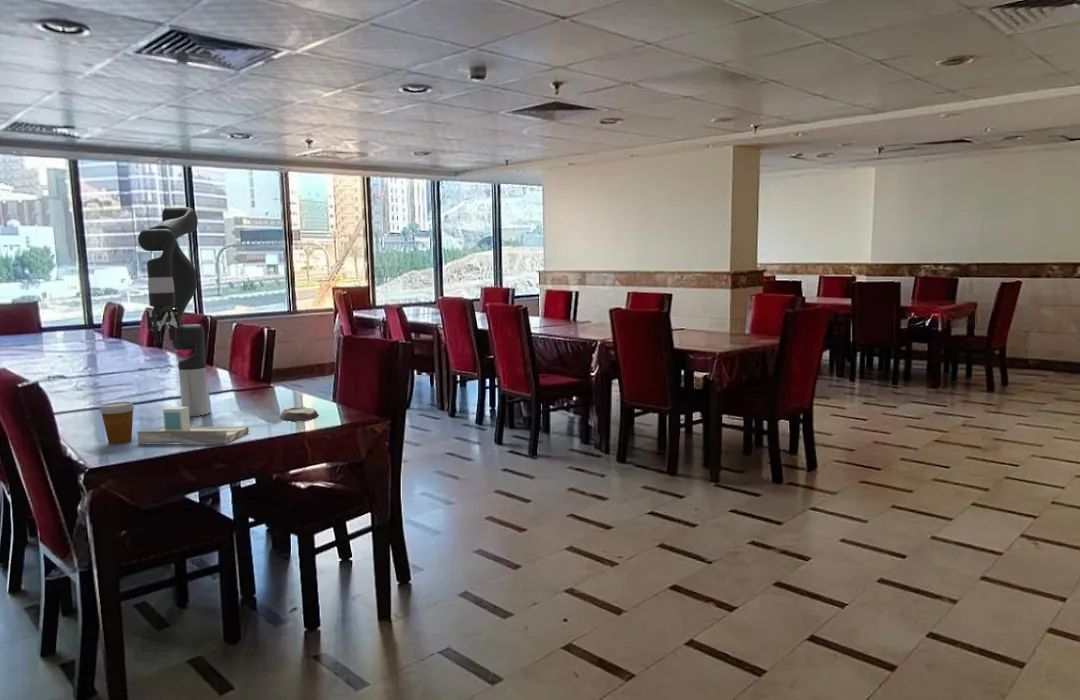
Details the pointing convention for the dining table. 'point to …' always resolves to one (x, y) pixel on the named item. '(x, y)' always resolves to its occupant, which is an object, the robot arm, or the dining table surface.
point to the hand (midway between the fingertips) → (165, 341)
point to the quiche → (298, 414)
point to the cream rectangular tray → (192, 435)
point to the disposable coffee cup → (118, 421)
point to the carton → (176, 419)
